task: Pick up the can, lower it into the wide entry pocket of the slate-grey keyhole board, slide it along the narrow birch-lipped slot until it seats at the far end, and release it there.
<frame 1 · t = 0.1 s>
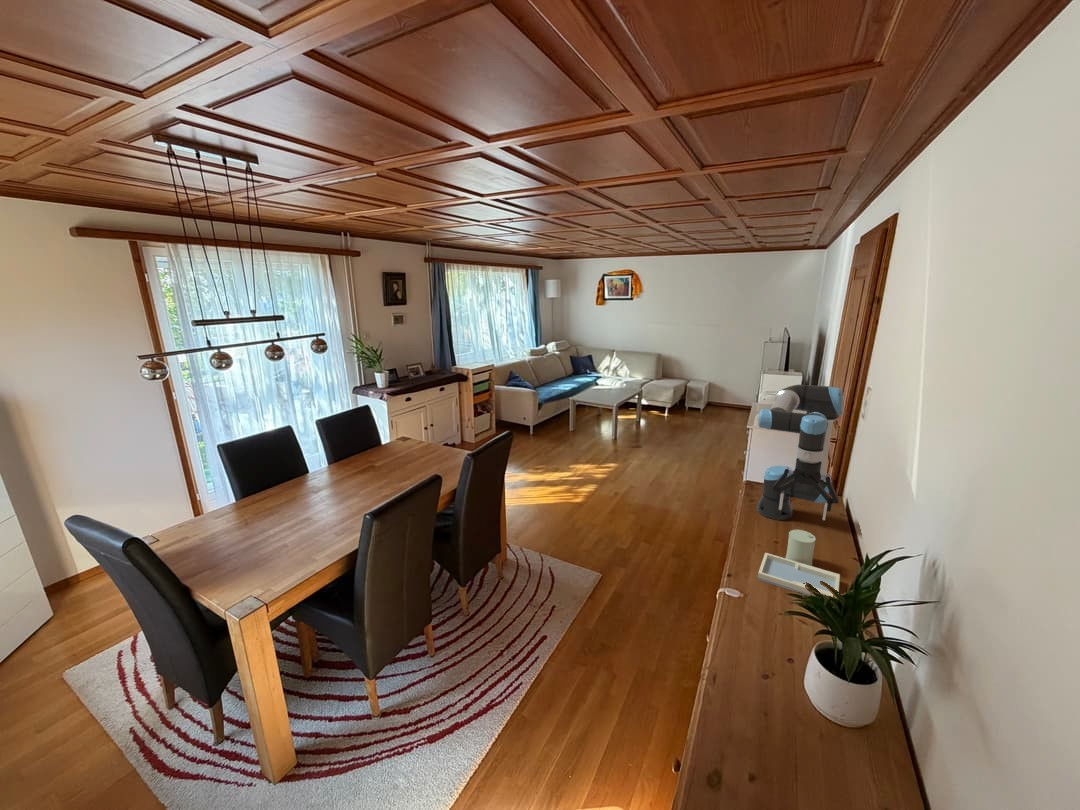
hand: (801, 513, 153), 28 cm above the table, fingers open, 13 cm apart
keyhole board: (797, 580, 159), on the table
can: (798, 561, 170), on the table
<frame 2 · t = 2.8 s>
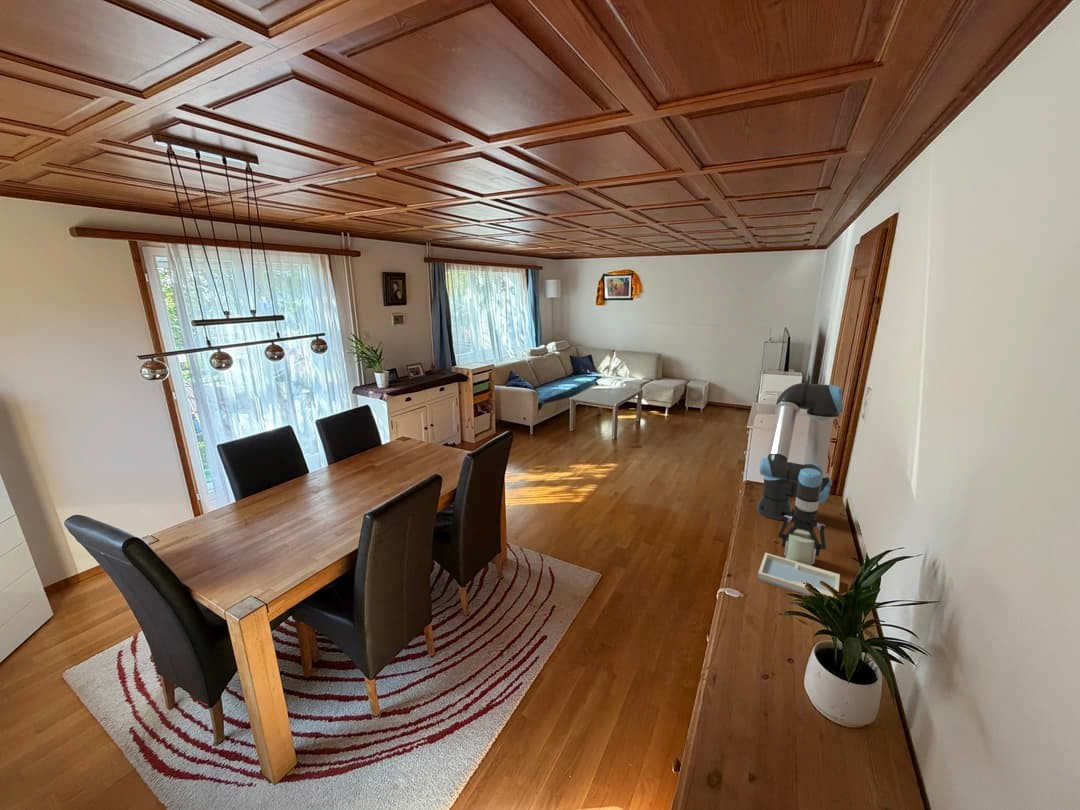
hand: (799, 557, 169), 1 cm above the table, fingers closed on can, 9 cm apart
can: (798, 561, 170), on the table, touching gripper
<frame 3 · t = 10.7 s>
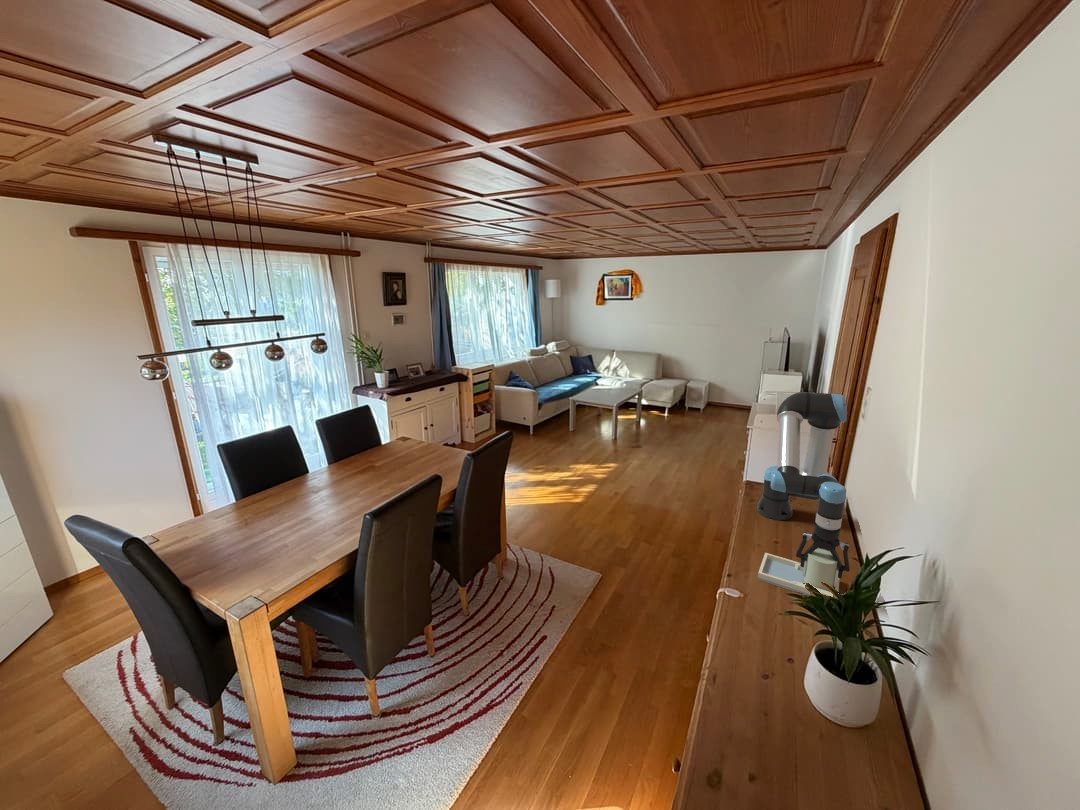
hand: (819, 579, 154), 3 cm above the table, fingers closed on can, 9 cm apart
can: (818, 583, 155), point 2 cm above the table, touching gripper
when the fingers open (3 cm above the table, at t = 11.2 s): can stays where it is, resting on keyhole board.
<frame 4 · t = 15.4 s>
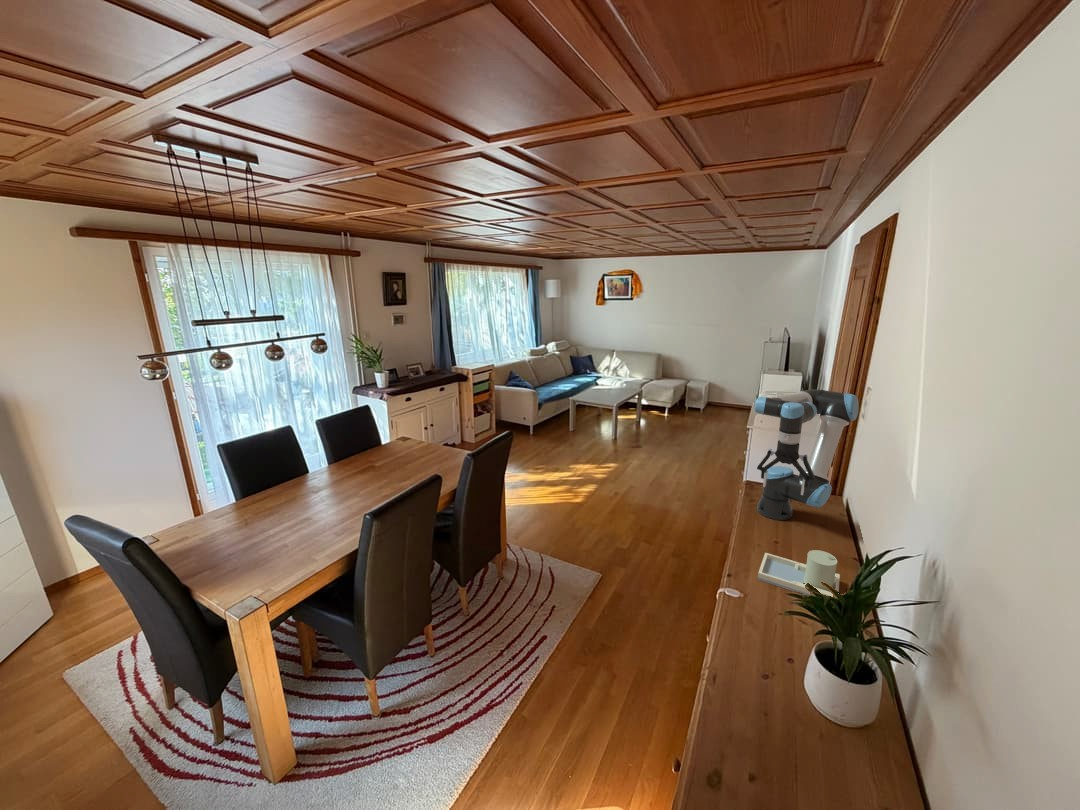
hand: (782, 489, 173), 27 cm above the table, fingers open, 13 cm apart
can: (818, 584, 155), point 1 cm above the table, touching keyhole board
at the end: can 0.6 cm from the target spot on the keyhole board, point 0.8 cm above the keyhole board's base; can tilted 0°; the gripper is holding nothing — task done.
